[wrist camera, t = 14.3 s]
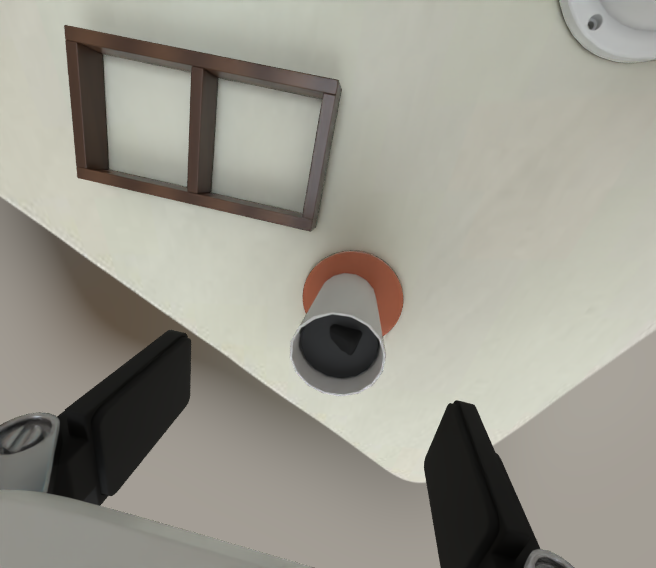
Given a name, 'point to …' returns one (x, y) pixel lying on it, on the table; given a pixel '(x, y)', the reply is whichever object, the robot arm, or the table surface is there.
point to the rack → (204, 83)
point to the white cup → (340, 338)
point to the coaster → (368, 269)
